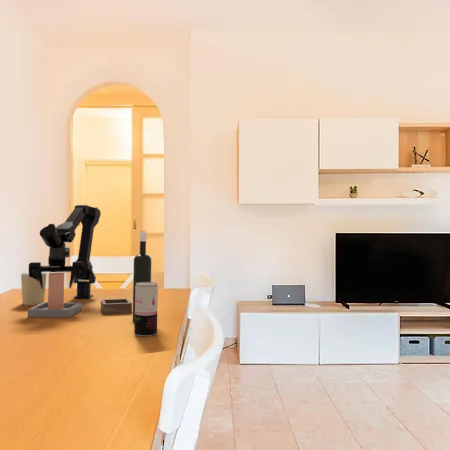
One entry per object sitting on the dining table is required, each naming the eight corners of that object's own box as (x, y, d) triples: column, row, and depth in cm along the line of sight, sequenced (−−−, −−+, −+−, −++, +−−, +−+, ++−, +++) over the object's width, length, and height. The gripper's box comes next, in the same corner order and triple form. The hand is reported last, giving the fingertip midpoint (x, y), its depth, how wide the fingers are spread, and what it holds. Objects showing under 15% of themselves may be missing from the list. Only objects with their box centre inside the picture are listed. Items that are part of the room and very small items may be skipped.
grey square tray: (43, 309, 168) (43, 302, 168) (81, 309, 168) (81, 302, 168) (27, 316, 154) (27, 309, 154) (69, 317, 154) (69, 310, 154)
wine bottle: (129, 321, 150) (130, 230, 150) (143, 318, 155) (144, 230, 155) (139, 324, 147) (141, 231, 146) (153, 321, 151) (155, 231, 151)
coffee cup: (50, 301, 183) (51, 272, 183) (38, 305, 173) (39, 274, 173) (28, 300, 184) (28, 271, 184) (15, 305, 174) (16, 273, 174)
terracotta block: (48, 309, 162) (49, 272, 162) (63, 308, 164) (64, 272, 164) (47, 312, 158) (48, 274, 158) (63, 311, 159) (63, 274, 159)
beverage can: (151, 330, 138) (152, 281, 138) (160, 335, 133) (161, 284, 133) (131, 333, 135) (132, 282, 135) (139, 338, 129) (140, 285, 129)
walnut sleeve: (100, 308, 171) (100, 299, 171) (128, 307, 174) (128, 298, 174) (102, 314, 161) (102, 304, 161) (132, 312, 164) (132, 303, 164)
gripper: (29, 239, 161) (26, 274, 151) (84, 240, 168) (84, 273, 157) (30, 259, 169) (27, 294, 159) (83, 259, 175) (83, 292, 165)
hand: (56, 288), depth 160 cm, fingers open, 9 cm apart
